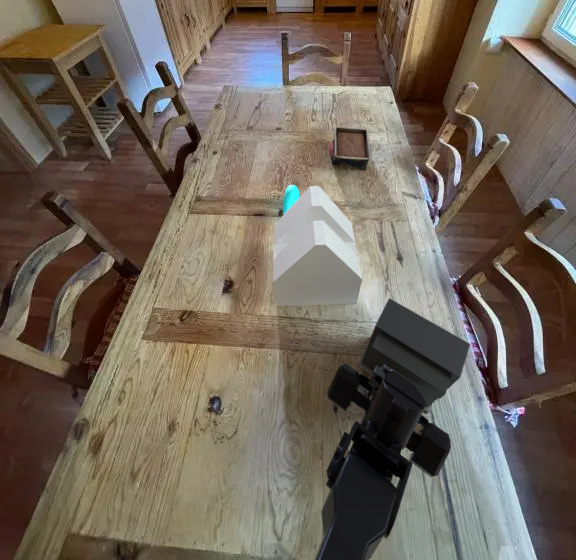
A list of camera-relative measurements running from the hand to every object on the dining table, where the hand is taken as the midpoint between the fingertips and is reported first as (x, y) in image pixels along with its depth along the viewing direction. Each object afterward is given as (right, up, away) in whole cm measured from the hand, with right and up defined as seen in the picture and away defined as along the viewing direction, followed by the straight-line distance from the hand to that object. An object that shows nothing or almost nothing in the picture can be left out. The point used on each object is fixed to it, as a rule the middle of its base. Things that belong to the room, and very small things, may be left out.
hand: (392, 391), depth 62 cm
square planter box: (+2, +46, +57) cm, 73 cm away
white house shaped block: (-13, +14, +25) cm, 31 cm away
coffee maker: (+3, -2, +8) cm, 8 cm away
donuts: (-15, +28, +39) cm, 50 cm away
